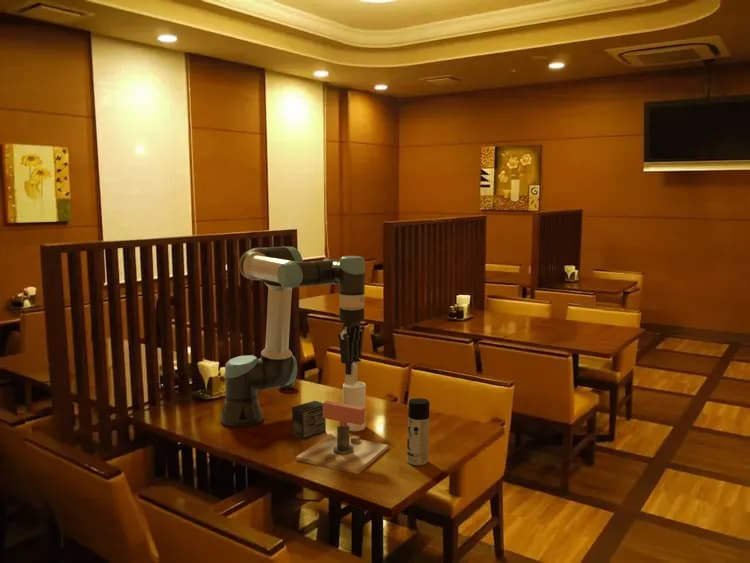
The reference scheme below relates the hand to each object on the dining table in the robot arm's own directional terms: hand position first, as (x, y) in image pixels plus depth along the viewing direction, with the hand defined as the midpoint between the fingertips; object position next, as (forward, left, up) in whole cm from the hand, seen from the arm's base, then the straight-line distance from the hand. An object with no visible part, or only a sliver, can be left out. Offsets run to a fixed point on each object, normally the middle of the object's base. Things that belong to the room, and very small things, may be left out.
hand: (351, 383), depth 195 cm
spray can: (+18, +12, -27) cm, 34 cm away
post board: (-6, +6, -26) cm, 28 cm away
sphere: (-61, +56, -27) cm, 87 cm away
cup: (-14, +30, -27) cm, 42 cm away
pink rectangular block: (-6, +6, -17) cm, 19 cm away
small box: (-25, +16, -27) cm, 40 cm away
